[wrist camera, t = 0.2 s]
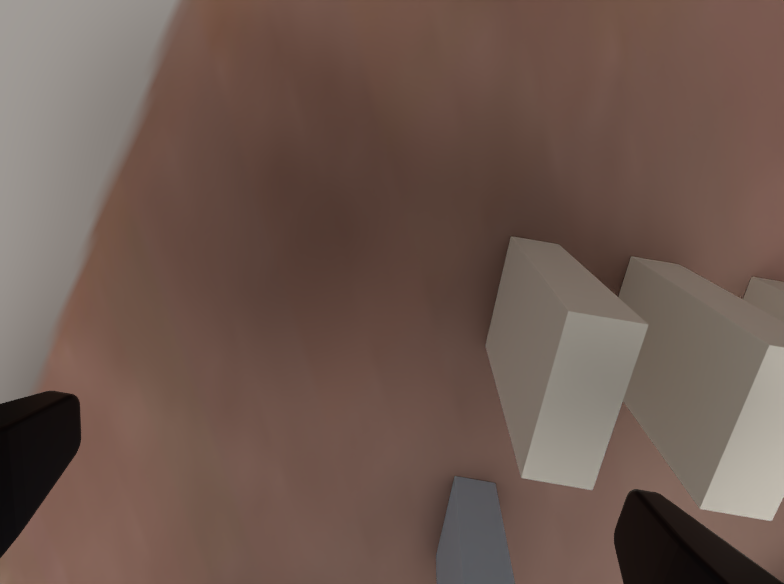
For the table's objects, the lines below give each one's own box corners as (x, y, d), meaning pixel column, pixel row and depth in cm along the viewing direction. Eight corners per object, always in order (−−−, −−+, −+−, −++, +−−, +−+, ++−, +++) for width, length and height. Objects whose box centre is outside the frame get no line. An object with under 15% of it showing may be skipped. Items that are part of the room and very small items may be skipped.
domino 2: (529, 353, 23) (592, 490, 14) (485, 345, 23) (521, 478, 14) (558, 244, 21) (648, 324, 13) (510, 236, 21) (568, 311, 13)
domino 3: (641, 372, 23) (771, 521, 14) (597, 364, 23) (699, 508, 14) (679, 264, 21) (850, 358, 13) (630, 256, 21) (769, 344, 13)
